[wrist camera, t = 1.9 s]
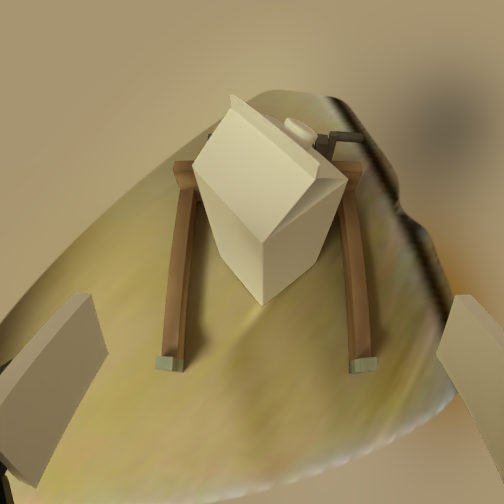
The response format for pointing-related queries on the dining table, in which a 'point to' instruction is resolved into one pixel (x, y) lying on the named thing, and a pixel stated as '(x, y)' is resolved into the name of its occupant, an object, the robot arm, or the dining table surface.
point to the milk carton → (267, 197)
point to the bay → (350, 248)
